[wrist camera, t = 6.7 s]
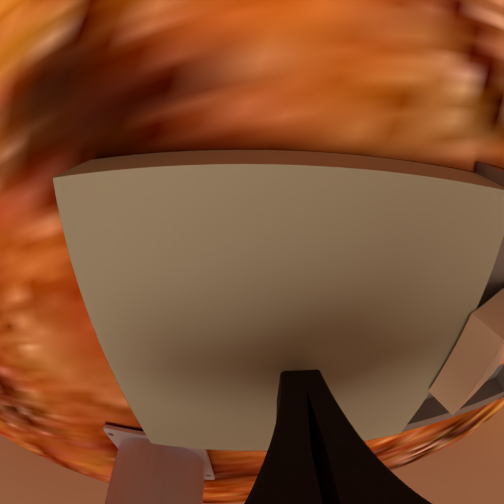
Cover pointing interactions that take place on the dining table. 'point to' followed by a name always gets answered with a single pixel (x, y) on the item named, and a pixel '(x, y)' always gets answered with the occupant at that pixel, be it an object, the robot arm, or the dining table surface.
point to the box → (500, 277)
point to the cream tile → (472, 356)
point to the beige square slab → (275, 282)
